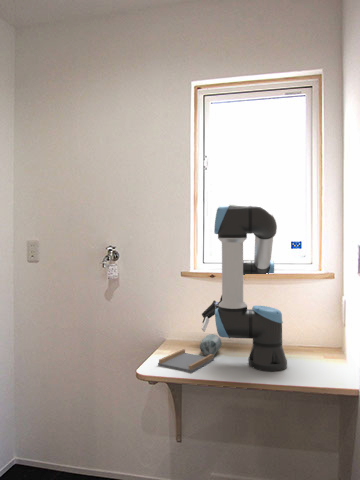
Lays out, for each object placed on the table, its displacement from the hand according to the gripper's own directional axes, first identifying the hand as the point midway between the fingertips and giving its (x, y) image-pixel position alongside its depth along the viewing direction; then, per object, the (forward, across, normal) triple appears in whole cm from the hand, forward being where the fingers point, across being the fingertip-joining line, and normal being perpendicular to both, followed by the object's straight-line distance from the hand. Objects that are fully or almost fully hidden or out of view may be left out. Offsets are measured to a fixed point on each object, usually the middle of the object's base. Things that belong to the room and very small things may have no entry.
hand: (215, 331), depth 175 cm
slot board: (+22, +2, +10) cm, 24 cm away
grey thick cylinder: (+10, 0, -2) cm, 10 cm away
